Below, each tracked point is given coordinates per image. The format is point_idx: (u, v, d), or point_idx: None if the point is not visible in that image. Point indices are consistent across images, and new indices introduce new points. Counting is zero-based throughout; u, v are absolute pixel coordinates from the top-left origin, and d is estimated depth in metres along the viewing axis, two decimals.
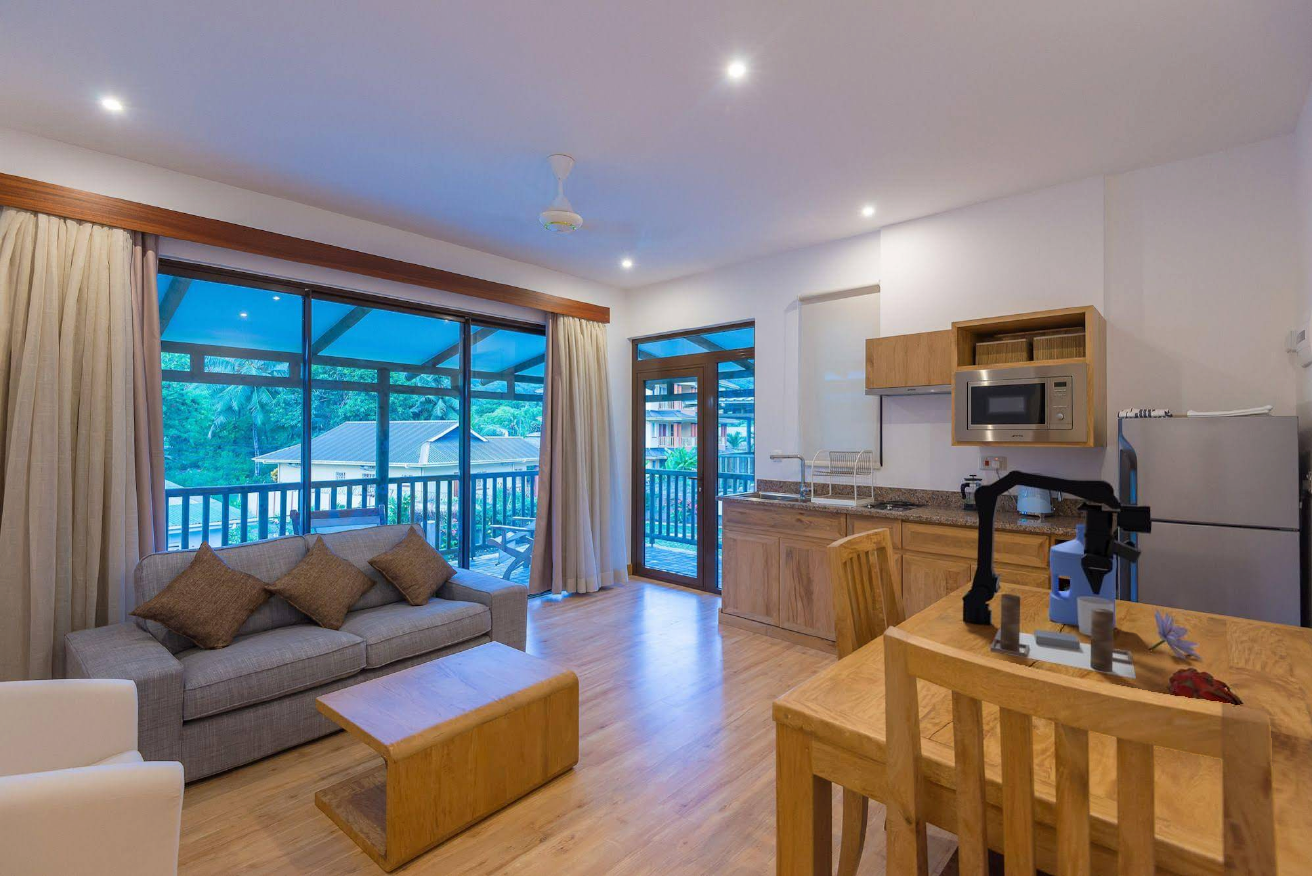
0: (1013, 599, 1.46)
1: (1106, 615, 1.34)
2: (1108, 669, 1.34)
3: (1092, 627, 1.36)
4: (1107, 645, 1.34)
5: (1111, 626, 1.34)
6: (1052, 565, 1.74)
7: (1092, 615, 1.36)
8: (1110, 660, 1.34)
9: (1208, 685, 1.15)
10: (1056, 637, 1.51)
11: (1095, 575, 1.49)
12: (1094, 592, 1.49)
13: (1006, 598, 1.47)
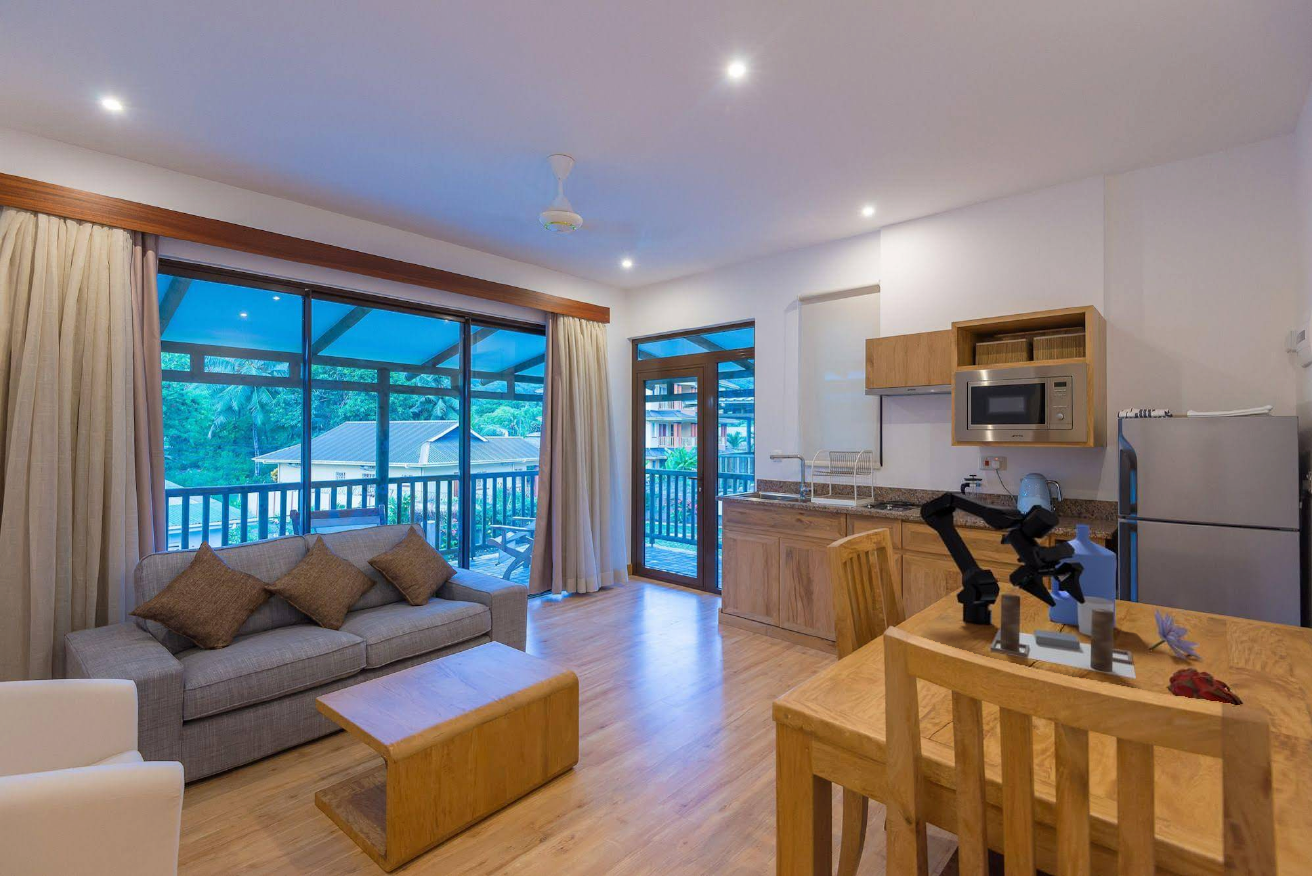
0: (1013, 599, 1.46)
1: (1106, 615, 1.34)
2: (1108, 669, 1.34)
3: (1092, 627, 1.36)
4: (1107, 645, 1.34)
5: (1111, 626, 1.34)
6: None
7: (1092, 615, 1.36)
8: (1110, 660, 1.34)
9: (1208, 685, 1.15)
10: (1056, 637, 1.51)
11: (1036, 588, 1.45)
12: (1050, 605, 1.43)
13: (1006, 598, 1.47)
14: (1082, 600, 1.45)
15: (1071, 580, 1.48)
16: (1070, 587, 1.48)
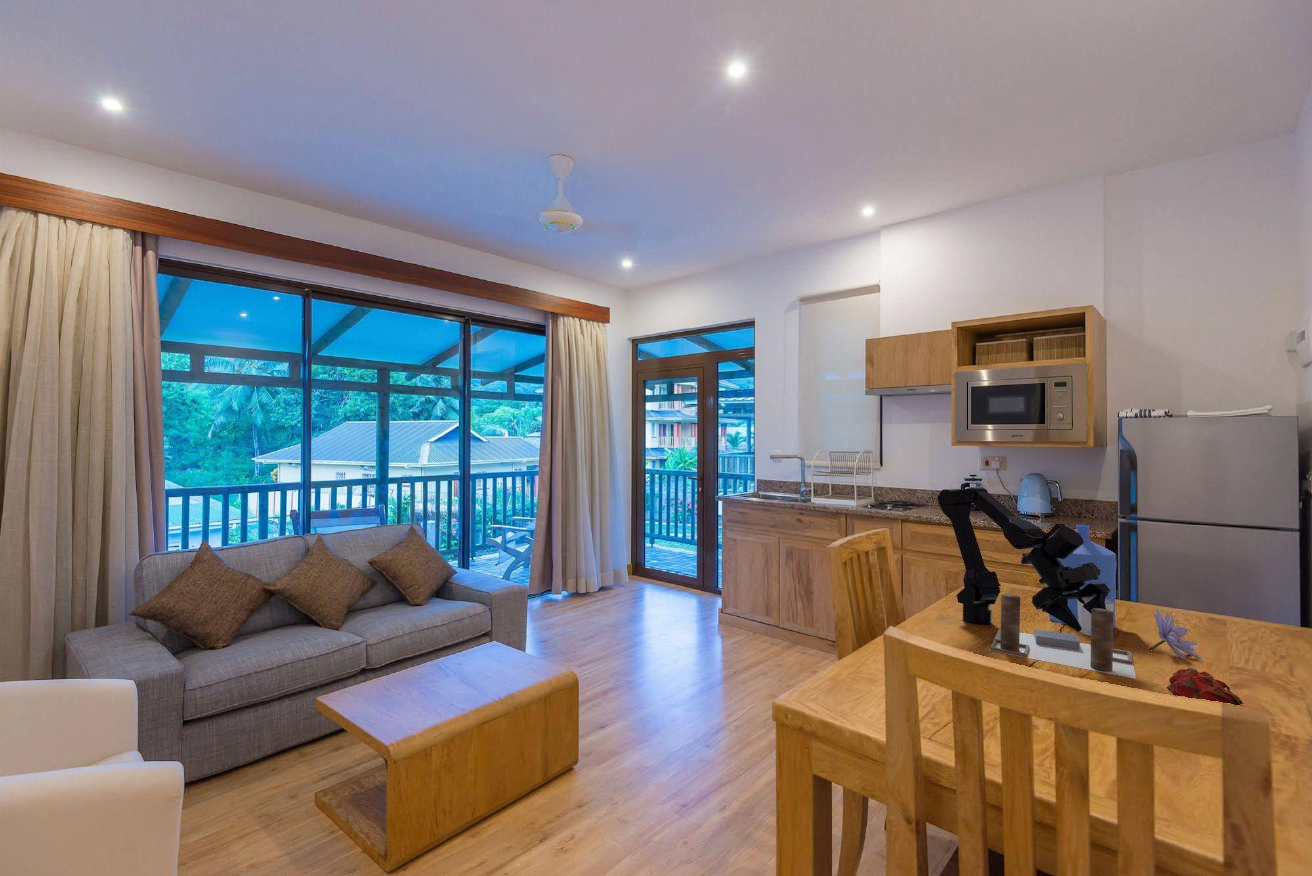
0: (1013, 599, 1.46)
1: (1106, 615, 1.34)
2: (1108, 669, 1.34)
3: (1092, 627, 1.36)
4: (1107, 645, 1.34)
5: (1111, 626, 1.34)
6: None
7: (1092, 615, 1.36)
8: (1110, 660, 1.34)
9: (1208, 685, 1.15)
10: (1056, 637, 1.51)
11: (1061, 611, 1.39)
12: (1076, 629, 1.37)
13: (1006, 598, 1.47)
14: None
15: (1096, 602, 1.42)
16: None
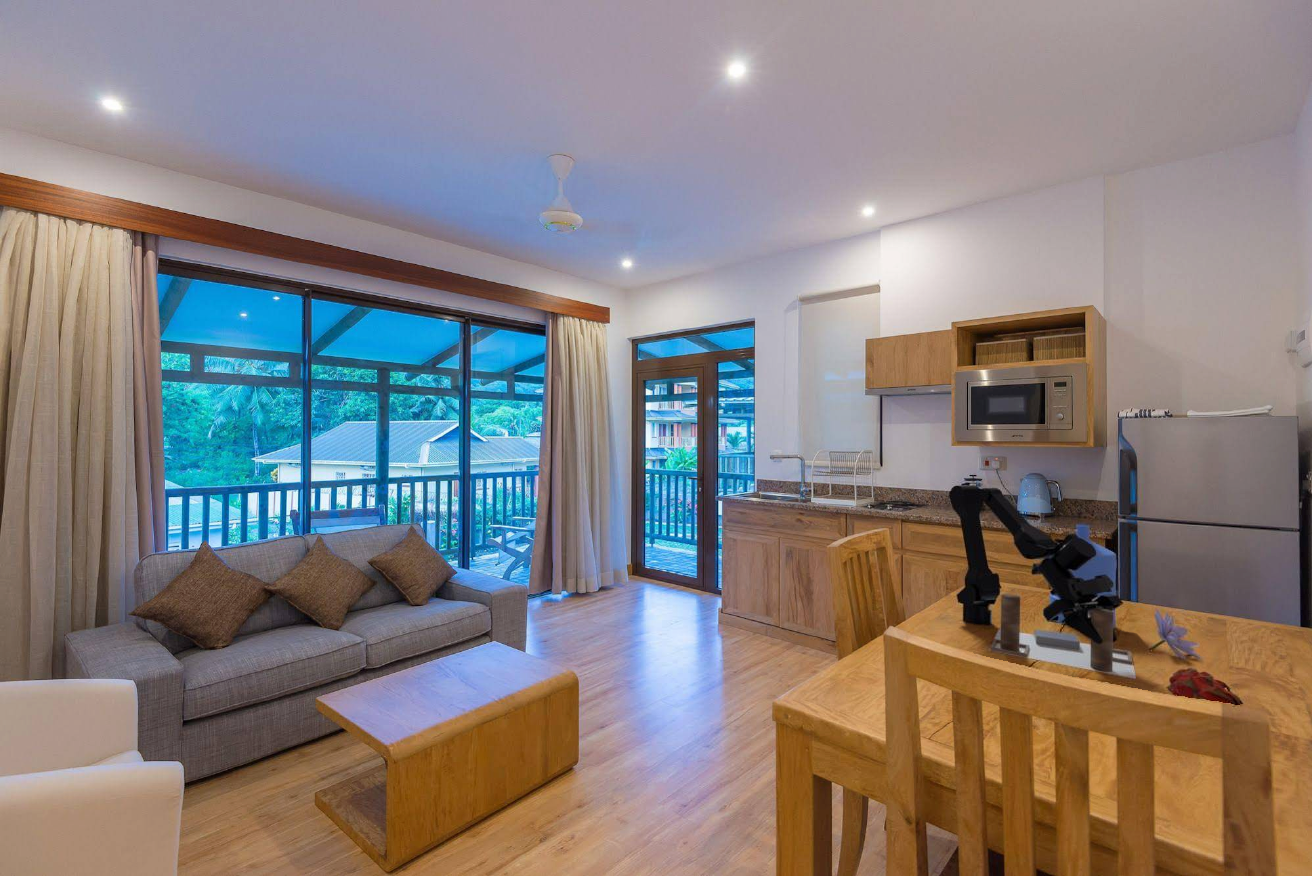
0: (1013, 599, 1.46)
1: (1106, 615, 1.34)
2: (1108, 669, 1.34)
3: None
4: (1107, 645, 1.34)
5: (1111, 626, 1.34)
6: None
7: (1092, 615, 1.36)
8: (1110, 660, 1.34)
9: (1208, 685, 1.15)
10: (1056, 637, 1.51)
11: (1081, 623, 1.37)
12: (1097, 642, 1.34)
13: (1006, 598, 1.47)
14: (1114, 638, 1.35)
15: None
16: None
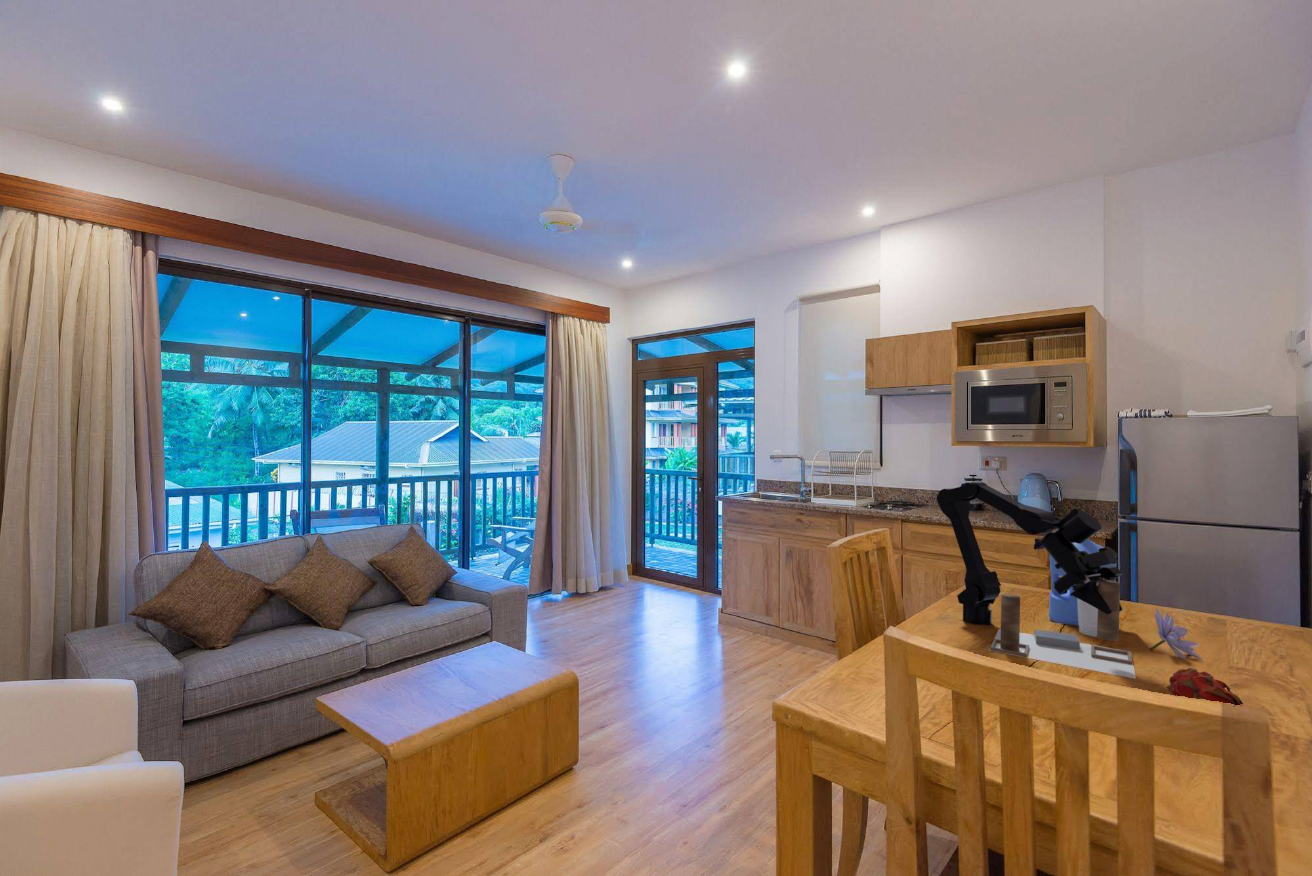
0: (1013, 599, 1.46)
1: (1114, 586, 1.37)
2: (1116, 638, 1.38)
3: None
4: (1115, 615, 1.37)
5: (1118, 596, 1.38)
6: (1052, 565, 1.74)
7: (1100, 586, 1.39)
8: (1117, 629, 1.38)
9: (1208, 685, 1.15)
10: (1056, 637, 1.51)
11: (1090, 595, 1.40)
12: (1106, 612, 1.38)
13: (1006, 598, 1.47)
14: (1119, 608, 1.39)
15: None
16: None
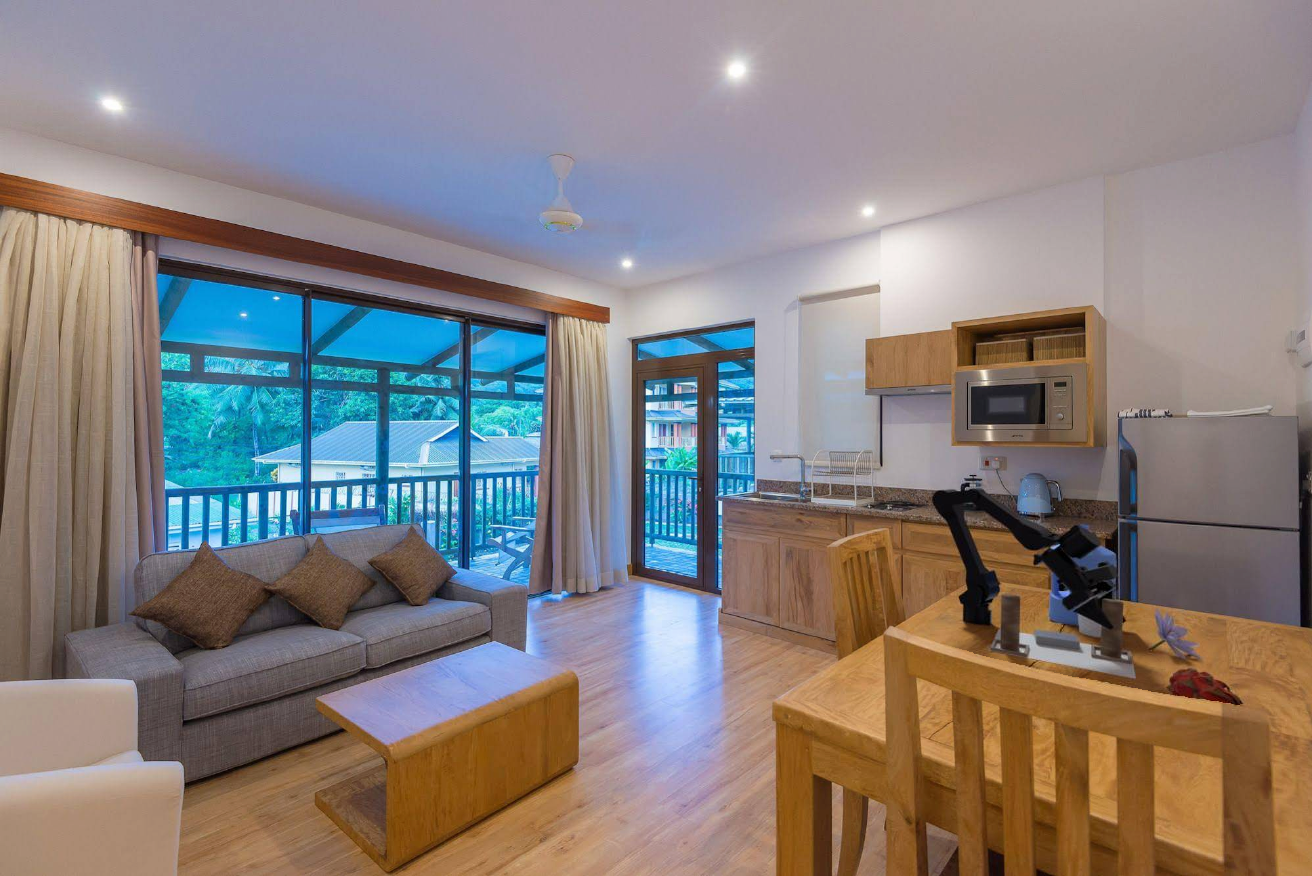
0: (1013, 599, 1.46)
1: (1119, 605, 1.42)
2: (1119, 656, 1.42)
3: None
4: (1119, 633, 1.42)
5: (1122, 615, 1.42)
6: None
7: (1105, 606, 1.44)
8: (1121, 647, 1.42)
9: (1208, 685, 1.15)
10: (1056, 637, 1.51)
11: (1092, 611, 1.42)
12: (1108, 627, 1.41)
13: (1006, 598, 1.47)
14: (1123, 619, 1.45)
15: None
16: None
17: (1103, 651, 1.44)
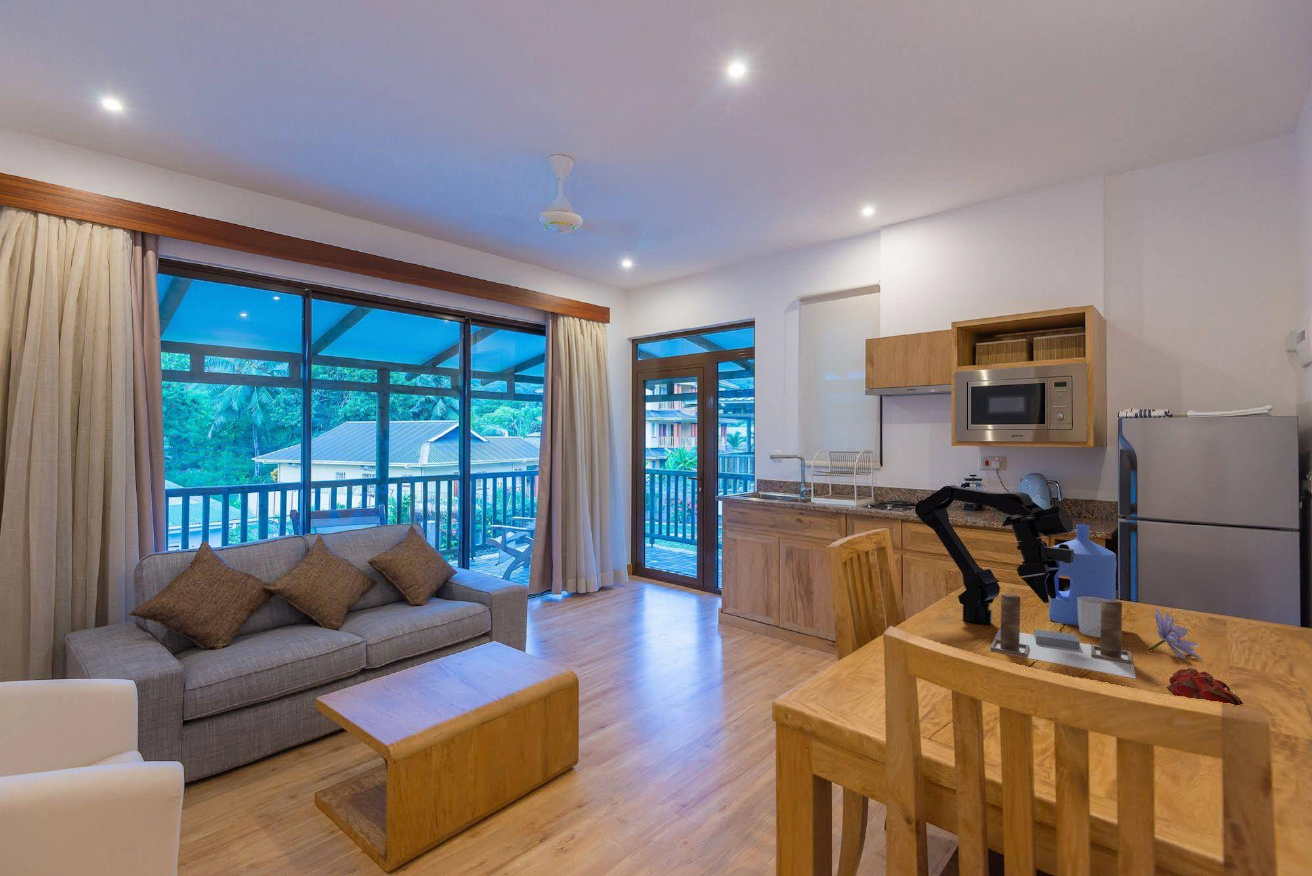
0: (1013, 599, 1.46)
1: (1118, 605, 1.42)
2: (1119, 656, 1.42)
3: (1104, 617, 1.43)
4: (1118, 634, 1.42)
5: (1121, 615, 1.42)
6: None
7: (1104, 606, 1.44)
8: (1120, 647, 1.42)
9: (1208, 685, 1.15)
10: (1056, 637, 1.51)
11: (1037, 583, 1.51)
12: (1044, 601, 1.50)
13: (1006, 598, 1.47)
14: (1054, 596, 1.57)
15: (1050, 575, 1.58)
16: (1045, 581, 1.59)
17: (1103, 651, 1.44)
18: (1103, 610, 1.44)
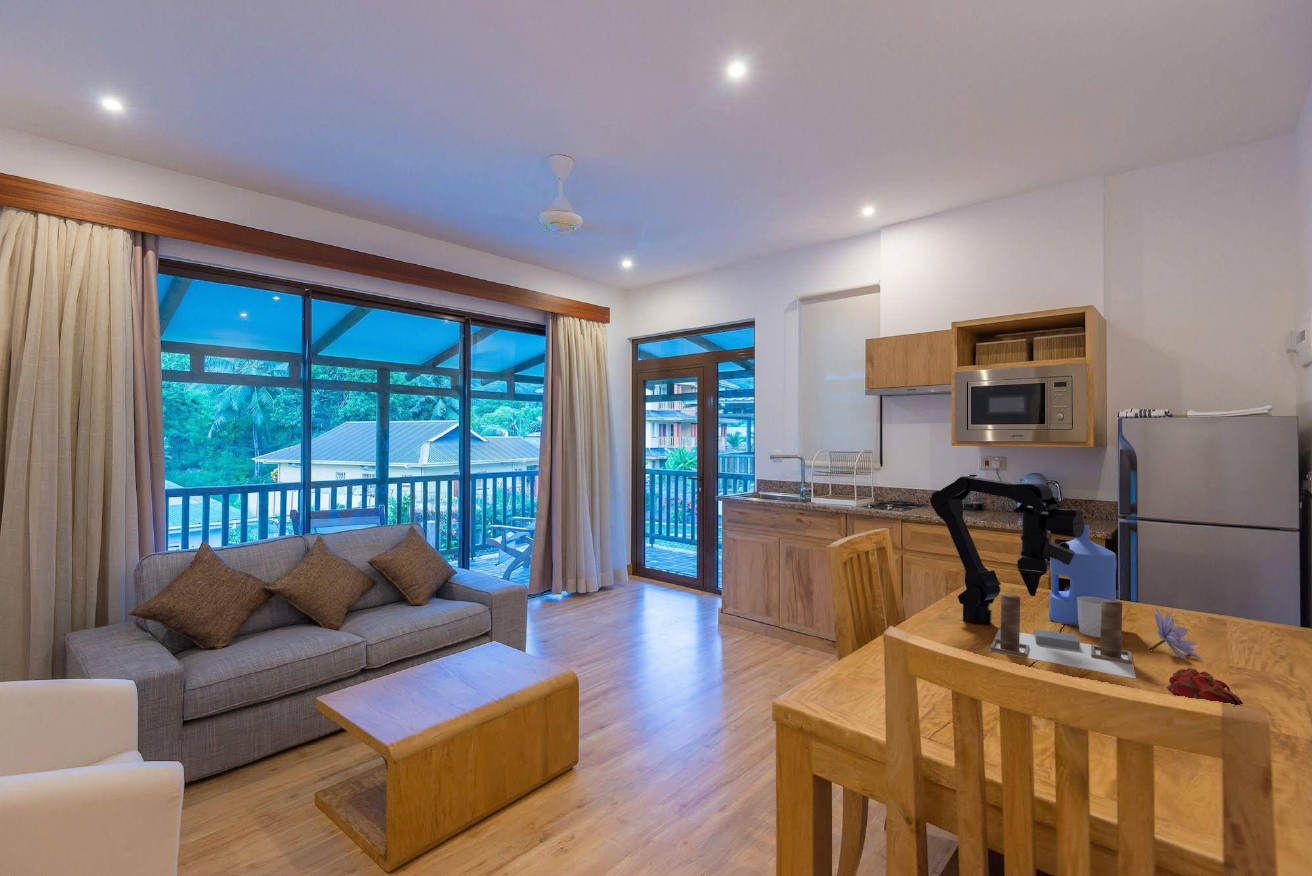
0: (1013, 599, 1.46)
1: (1118, 606, 1.42)
2: (1119, 656, 1.42)
3: (1104, 617, 1.43)
4: (1119, 634, 1.42)
5: (1121, 615, 1.42)
6: (1052, 565, 1.74)
7: (1104, 606, 1.43)
8: (1120, 647, 1.42)
9: (1208, 685, 1.15)
10: (1056, 637, 1.51)
11: (1031, 577, 1.52)
12: (1030, 593, 1.52)
13: (1006, 598, 1.47)
14: (1036, 586, 1.60)
15: None
16: None
17: (1103, 651, 1.44)
18: (1103, 610, 1.44)
